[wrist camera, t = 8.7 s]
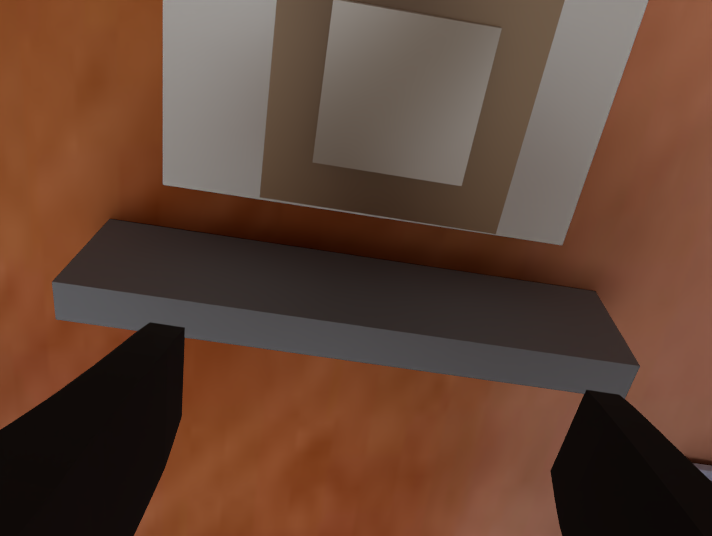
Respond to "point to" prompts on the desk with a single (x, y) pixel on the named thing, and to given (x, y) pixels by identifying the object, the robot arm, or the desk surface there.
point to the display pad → (243, 178)
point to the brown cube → (403, 105)
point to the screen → (345, 308)
